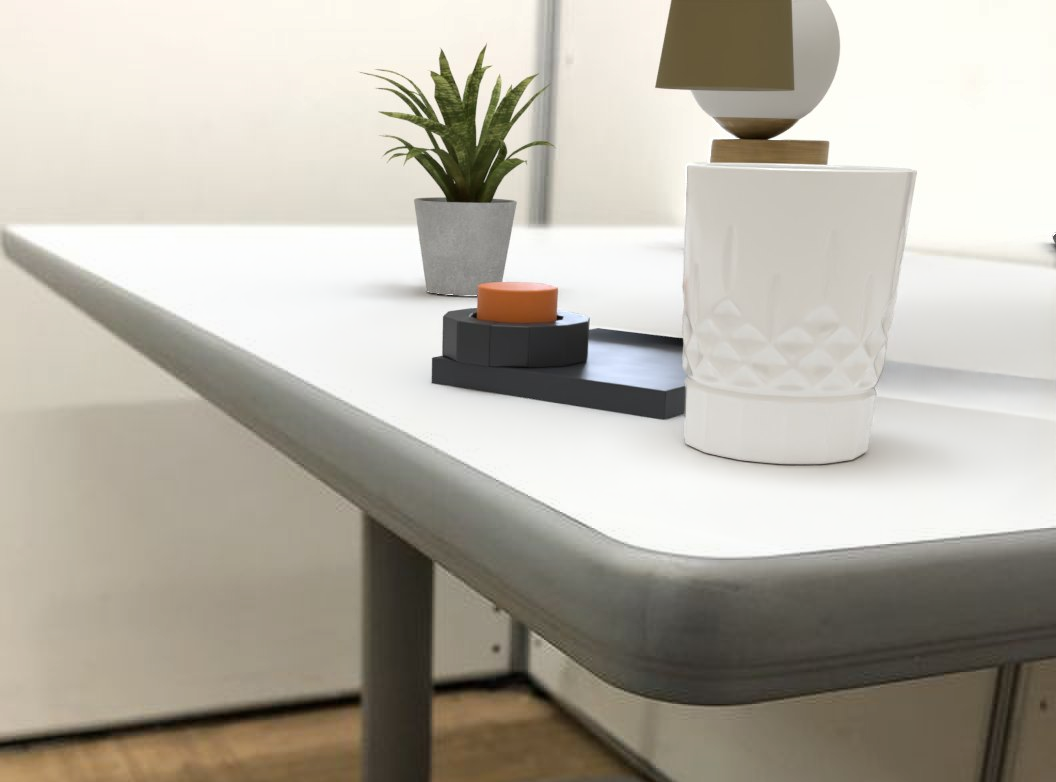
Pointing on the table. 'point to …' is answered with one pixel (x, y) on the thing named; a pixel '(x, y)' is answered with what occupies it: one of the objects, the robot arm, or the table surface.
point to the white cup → (788, 305)
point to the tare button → (517, 302)
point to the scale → (563, 363)
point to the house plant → (463, 180)
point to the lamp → (779, 98)
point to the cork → (728, 46)
